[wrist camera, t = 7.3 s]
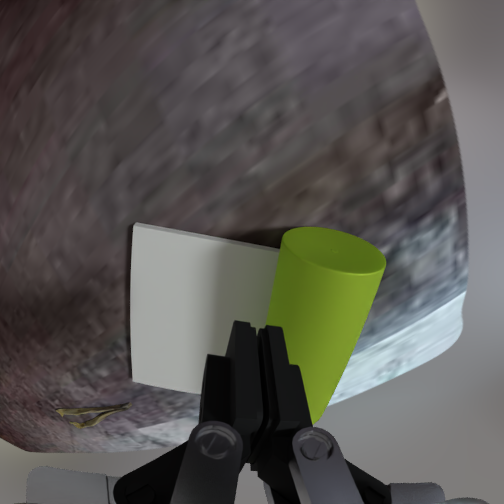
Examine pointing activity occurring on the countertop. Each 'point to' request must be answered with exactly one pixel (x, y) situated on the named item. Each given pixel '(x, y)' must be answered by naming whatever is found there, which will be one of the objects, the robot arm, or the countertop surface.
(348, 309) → the soap dispenser
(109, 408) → the tongs
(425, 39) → the countertop surface
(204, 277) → the grey mat
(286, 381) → the robot arm
